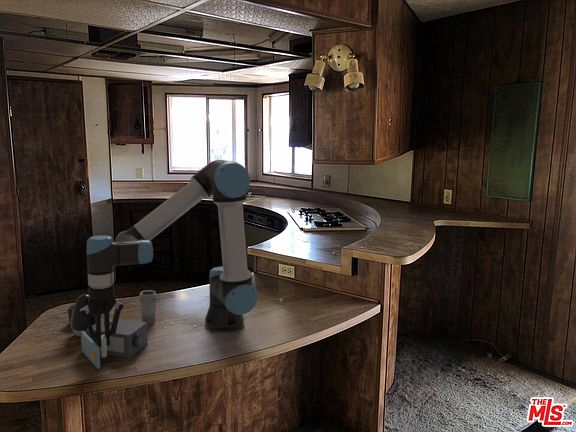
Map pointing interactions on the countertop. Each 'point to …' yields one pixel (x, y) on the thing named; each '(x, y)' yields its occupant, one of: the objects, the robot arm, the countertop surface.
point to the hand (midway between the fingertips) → (103, 355)
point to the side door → (90, 349)
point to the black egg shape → (81, 316)
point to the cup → (148, 306)
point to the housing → (124, 337)
